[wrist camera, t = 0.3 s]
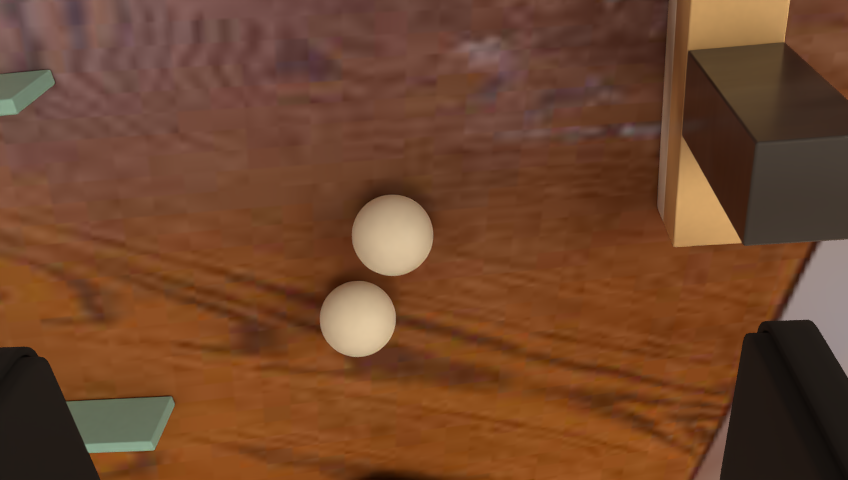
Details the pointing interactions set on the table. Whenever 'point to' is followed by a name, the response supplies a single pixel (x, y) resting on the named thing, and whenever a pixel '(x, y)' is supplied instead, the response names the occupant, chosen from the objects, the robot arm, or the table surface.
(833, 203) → the brush
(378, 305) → the crumb
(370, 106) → the table surface
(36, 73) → the teal open frame
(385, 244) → the crumb
